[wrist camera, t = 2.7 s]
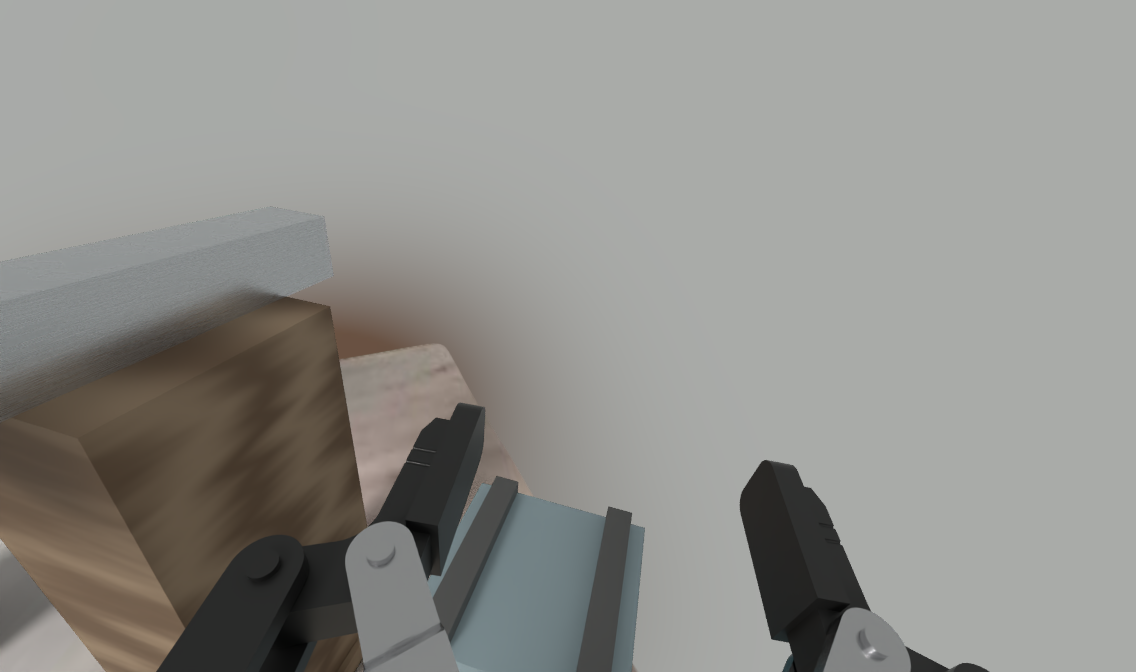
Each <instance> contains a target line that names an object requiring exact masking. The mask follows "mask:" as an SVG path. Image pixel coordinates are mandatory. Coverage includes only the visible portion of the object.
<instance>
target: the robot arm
mask: <svg viewBox="0 0 1136 672" xmlns="http://www.w3.org/2000/svg"><path fill="white" fill-rule="evenodd" d="M484 425H485V407H481V406H476V405H470V404H465V403H458V404H457V406H456V408H455V410H454V412H453V415H452V417H451V419H450V420H446V419H440V418H435V419H434V420H433V421H432V422H431V423H429V424H428V425H427V426H426V427H425V428H424V429H423V430H422V431H421V433H420V434H419V436H418V438H417V440H416V442H415V444H414V446H413V450H411V452H410V454H409V456H408V458H407V461H406V463H405V464H404V466H403V468H402V470H401V472H400V474H399V476H398V477H397V479H396V481H395V483H394V485H393V487H392V489H391V491H390V493H389V495H388V497H387V499H386V501H385V503H384V505H383V507H382V509H381V511H380V513H379V514H378V516H377V517H376V519H375V520H374V521H373V522H372V523H371V524H370V525H369V526H368V527H367V528H366V529H364V530H363V531H362V532H360V533H358V534H357V535H355V536H352V537H350V538H347V539H344V540H340V541H335V542H328V543H321V544H314V545H307V546H302V545H301V544H300V542H299V541H298V540H296V539H295V538H293V537H291V536H288V535H271V536H267V537H264V538H261V539H259V540H257V541H255V542H253V543H251V544H250V545H248V546H247V547H245V548H244V549H243V550H241V551H240V552H239V553H238V554H237V555H236V556H235V557H234V558H233V560H232V561H231V562H230V564H229V565H228V567H227V568H226V569H225V571H224V572H223V574H222V575H221V577H220V578H219V580H218V581H217V583H216V584H215V586H214V587H213V589H212V590H211V592H210V593H209V595H208V596H207V597H206V599H205V600H204V602H203V603H202V605H201V606H200V608H199V609H198V611H197V612H196V614H195V615H194V617H193V618H192V620H191V621H190V622H189V624H188V625H187V627H186V628H185V630H184V631H183V633H182V634H181V636H180V637H179V639H178V640H177V642H176V643H175V645H174V646H173V648H172V649H171V650H170V652H169V653H168V655H167V656H166V658H165V659H164V661H163V662H162V664H161V665H160V667H159V668H158V670H157V671H156V672H304V670H305V668H306V666H307V664H308V662H309V659H310V657H311V655H312V653H313V650H314V648H315V646H316V644H317V641H319V640H324V639H329V638H334V637H339V636H344V635H349V634H354V633H358V635H359V641H360V646H361V651H362V657H363V663H364V672H459V670H458V666H457V663H456V660H455V657H454V654H453V651H452V648H451V645H450V642H449V639H448V636H447V633H446V631H445V629H444V627H443V625H442V624H441V622H440V620H439V617H438V614H437V611H436V608H435V604H434V601H433V598H432V595H431V592H430V589H429V585H428V582H427V581H428V578H429V576H430V575H435V576H441V575H442V572H443V569H444V566H445V563H446V560H447V557H448V554H449V551H450V548H451V545H452V542H453V539H454V536H455V533H456V530H457V527H458V524H459V521H460V518H461V515H462V512H463V509H464V506H465V504H466V501H467V498H468V495H469V492H470V489H471V486H472V483H473V480H474V477H475V474H476V471H477V468H478V465H479V462H480V458H481V454H482V450H483V443H484ZM740 512H741V517H742V521H743V525H744V529H745V533H746V537H747V541H748V545H749V549H750V553H751V558H752V561H753V566H754V569H755V574H756V578H757V581H758V586H759V590H760V594H761V598H762V602H763V606H764V610H765V614H766V619H767V623H768V627H769V631H770V635H771V639H773V640H778V641H783V642H789V644H790V647H791V651H792V654H791V655H790V656H789V658H788V659H787V661H786V664H785V666H784V669H783V671H782V672H989V671H987V670H986V669H984V668H982V667H980V666H977V665H974V664H970V663H962V664H959V665H957V666H956V667H953V668H951V669H948V668H946V667H944V666H942V665H940V664H938V663H936V662H934V661H933V660H931V659H928V658H927V657H925V656H923V655H921V654H919V653H917V652H915V651H913V650H911V649H909V648H908V647H906V646H905V645H904V643H903V642H902V640H901V639H900V637H899V636H898V634H897V633H896V632H895V631H894V630H893V628H892V627H891V626H890V625H889V624H888V623H887V622H885V621H884V620H883V619H882V618H881V617H879V616H878V615H876V614H874V613H873V612H871V610H870V608H869V606H868V604H867V602H866V600H865V597H864V595H863V593H862V590H861V588H860V586H859V583H858V581H857V579H856V576H855V574H854V572H853V569H852V567H851V565H850V562H849V560H848V558H847V555H846V553H845V551H844V548H843V546H842V545H840V539H839V537H838V534H837V532H836V530H835V529H833V526H834V525H833V523H832V520H831V518H830V516H829V514H828V511H827V509H826V506H825V505H824V504H823V503H822V501H821V500H820V499H819V498H818V496H817V495H816V494H815V493H814V491H813V490H812V489H811V488H808V487H804V486H803V483H802V481H801V478H800V476H799V473H798V471H797V469H796V468H795V467H794V466H793V465H789V464H784V463H779V462H773V461H768V460H764V461H762V462H761V464H760V465H759V467H758V468H757V470H756V471H755V473H754V474H753V476H752V477H751V479H750V480H749V482H748V483H747V485H746V486H745V488H744V489H743V491H742V494H741V498H740Z"/></svg>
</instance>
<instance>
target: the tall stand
mask: <svg viewBox="0 0 1136 672" xmlns="http://www.w3.org/2000/svg"><path fill="white" fill-rule="evenodd" d="M366 528H367V523H366V517H365V511H364V505H363V499H362V493H361V487H360V481H359V475H358V469H357V463H356V457H355V451H354V446H353V440H352V434H351V428H350V422H349V416H348V410H347V404H346V398H345V392H344V386H343V380H342V374H341V368H340V362H339V357H338V351H337V345H336V339H335V333H334V327H333V321H332V315H331V309H330V306H326V305H321V304H317V303H312V302H307V301H303V300H299V299H294V298H290V297H284V298H282V299H280V300H277V301H275V302H273V303H271V304H268V305H266V306H264V307H261V308H259V309H257V310H255V311H252V312H250V313H248V314H245V315H243V316H241V317H239V318H236V319H234V320H232V321H230V322H227V323H225V324H223V325H220V326H218V327H216V328H214V329H211V330H209V331H207V332H205V333H202V334H200V335H198V336H195V337H193V338H191V339H189V340H186V341H184V342H182V343H180V344H177V345H175V346H173V347H170V348H168V349H166V350H164V351H161V352H159V353H157V354H155V355H152V356H150V357H148V358H145V359H143V360H141V361H139V362H136V363H134V364H132V365H130V366H127V367H125V368H123V369H120V370H118V371H116V372H114V373H111V374H109V375H107V376H105V377H102V378H100V379H98V380H95V381H93V382H91V383H89V384H86V385H84V386H82V387H80V388H77V389H75V390H73V391H70V392H68V393H66V394H64V395H61V396H59V397H57V398H55V399H52V400H50V401H48V402H45V403H43V404H41V405H39V406H36V407H34V408H32V409H30V410H27V411H25V412H23V413H20V414H18V415H16V416H14V417H11V418H9V419H7V420H5V421H2V422H0V539H1V540H2V541H3V542H4V544H5V545H6V546H7V547H8V549H9V550H10V551H11V552H12V554H13V555H14V556H15V557H16V559H17V560H18V561H19V563H20V564H21V565H22V566H23V568H24V569H25V570H26V571H27V573H28V574H29V575H30V576H31V578H32V579H33V580H34V581H35V583H36V584H37V585H38V587H39V588H40V589H41V590H42V592H43V593H44V594H45V595H46V597H47V598H48V599H49V600H50V602H51V603H52V604H53V605H54V607H55V608H56V609H57V611H58V612H59V613H60V614H61V616H62V617H63V618H64V619H65V621H66V622H67V623H68V624H69V626H70V627H71V628H72V629H73V631H74V632H75V633H76V635H77V636H78V637H79V638H80V640H81V641H82V642H83V643H84V645H85V646H86V647H87V648H88V650H89V651H90V652H91V654H92V655H93V656H94V657H95V659H96V660H97V661H98V662H99V664H100V665H101V666H102V667H103V669H104V670H105V671H106V672H156V671H157V670H158V668H159V667H160V665H161V664H162V662H163V661H164V659H165V658H166V656H167V655H168V653H169V652H170V650H171V649H172V648H173V646H174V645H175V643H176V642H177V640H178V639H179V637H180V636H181V634H182V633H183V631H184V630H185V628H186V627H187V625H188V624H189V622H190V621H191V620H192V618H193V617H194V615H195V614H196V612H197V611H198V609H199V608H200V606H201V605H202V603H203V602H204V600H205V599H206V597H207V596H208V595H209V593H210V592H211V590H212V589H213V587H214V586H215V584H216V583H217V581H218V580H219V578H220V577H221V575H222V574H223V572H224V571H225V569H226V568H227V567H228V565H229V564H230V562H231V561H232V560H233V558H234V557H235V556H236V555H237V554H238V553H239V552H240V551H241V550H243V549H244V548H245V547H247V546H248V545H250V544H251V543H253V542H255V541H257V540H259V539H261V538H264V537H267V536H271V535H288V536H291V537H293V538H295V539H296V540H298V541H299V542H300V544H301V545H302V546H307V545H314V544H321V543H328V542H335V541H340V540H344V539H347V538H350V537H352V536H355V535H357V534H358V533H360V532H362V531H363V530H364V529H366ZM362 659H363V657H362V651H361V646H360V641H359V635H358V633H354V634H349V635H344V636H339V637H334V638H329V639H324V640H319V641H317V644H316V646H315V648H314V650H313V653H312V655H311V657H310V659H309V662H308V664H307V666H306V668H305V670H304V672H355V670H356V669H357V667H358V665H359V664H360V662H361V660H362Z"/></svg>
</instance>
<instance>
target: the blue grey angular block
mask: <svg viewBox="0 0 1136 672" xmlns="http://www.w3.org/2000/svg"><path fill="white" fill-rule="evenodd" d="M517 492H518V482H517V481H513V480H510V479H506V478H502V477H499V476H496V478H495V480H494V482H493V484H492V485H488V484H484V483H482V484H481V486H480V488H479V490H478V491H477V493H476V495H475V497H474V499H473V500H472V502H471V504H470V506H469V508H468V509H467V511H466V513H465V515H464V517H463V518H462V520H461V522H460V524H459V526H458V527H457V530H456V533H455V536H454V539H453V542H452V545H451V548H450V551H449V554H448V557H447V560H446V563H445V566H444V569H443V572H442V575H441V576H435V575H431V576H430V578H429V580H428V581H427V582H428V585H429V589H430V592H431V595H432V598H433V601H434V604H435V608H436V611H437V614H438V617H439V620H440V622H441V624H442V625H443V627H444V629H445V631H446V633H447V636H448V639H449V642H450V645H451V648H452V651H453V654H454V657H455V660H456V663H457V666H458V670H459V672H631V671H632V660H633V649H634V639H635V628H636V617H637V606H638V595H639V585H640V575H641V564H642V553H643V543H644V532H645V528H643V527H639V526H636V525H632V524H631V517H632V513H630V512H627V511H623V510H619V509H616V508H612V507H608V511H607V516H606V517H603V516H600V515H596V514H593V513H589V512H585V511H582V510H578V509H574V508H571V507H567V506H564V505H560V504H557V503H553V502H549V501H546V500H542V499H539V498H535V497H531V496H528V495H524V494H521V493H517Z"/></svg>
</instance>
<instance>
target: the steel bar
mask: <svg viewBox="0 0 1136 672" xmlns="http://www.w3.org/2000/svg"><path fill="white" fill-rule="evenodd" d="M332 276H333V269H332V263H331V256H330V251H329V243H328V237H327V231H326V225H325V219H324V216H319V215H314V214H308V213H303V212H298V211H292V210H287V209H281V208H276V207H266V208H261V209H256V210H251V211H246V212H241V213H236V214H231V215H226V216H222V217H217V218H212V219H207V220H203V221H197V222H192V223H187V224H182V225H178V226H173V227H168V228H163V229H158V230H153V231H149V232H143V233H138V234H134V235H129V236H124V237H119V238H114V239H109V240H104V241H99V242H95V243H90V244H85V245H80V246H75V247H70V248H65V249H60V250H55V251H51V252H46V253H41V254H36V255H31V256H26V257H22V258H17V259H11V260H7V261H2V262H0V422H2V421H5V420H7V419H9V418H11V417H14V416H16V415H18V414H20V413H23V412H25V411H27V410H30V409H32V408H34V407H36V406H39V405H41V404H43V403H45V402H48V401H50V400H52V399H55V398H57V397H59V396H61V395H64V394H66V393H68V392H70V391H73V390H75V389H77V388H80V387H82V386H84V385H86V384H89V383H91V382H93V381H95V380H98V379H100V378H102V377H105V376H107V375H109V374H111V373H114V372H116V371H118V370H120V369H123V368H125V367H127V366H130V365H132V364H134V363H136V362H139V361H141V360H143V359H145V358H148V357H150V356H152V355H155V354H157V353H159V352H161V351H164V350H166V349H168V348H170V347H173V346H175V345H177V344H180V343H182V342H184V341H186V340H189V339H191V338H193V337H195V336H198V335H200V334H202V333H205V332H207V331H209V330H211V329H214V328H216V327H218V326H220V325H223V324H225V323H227V322H230V321H232V320H234V319H236V318H239V317H241V316H243V315H245V314H248V313H250V312H252V311H255V310H257V309H259V308H261V307H264V306H266V305H268V304H271V303H273V302H275V301H277V300H280V299H282V298H284V297H286V296H289V295H291V294H293V293H295V292H298V291H300V290H302V289H304V288H307V287H309V286H311V285H313V284H316V283H318V282H320V281H322V280H325V279H327V278H330V277H332Z"/></svg>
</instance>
